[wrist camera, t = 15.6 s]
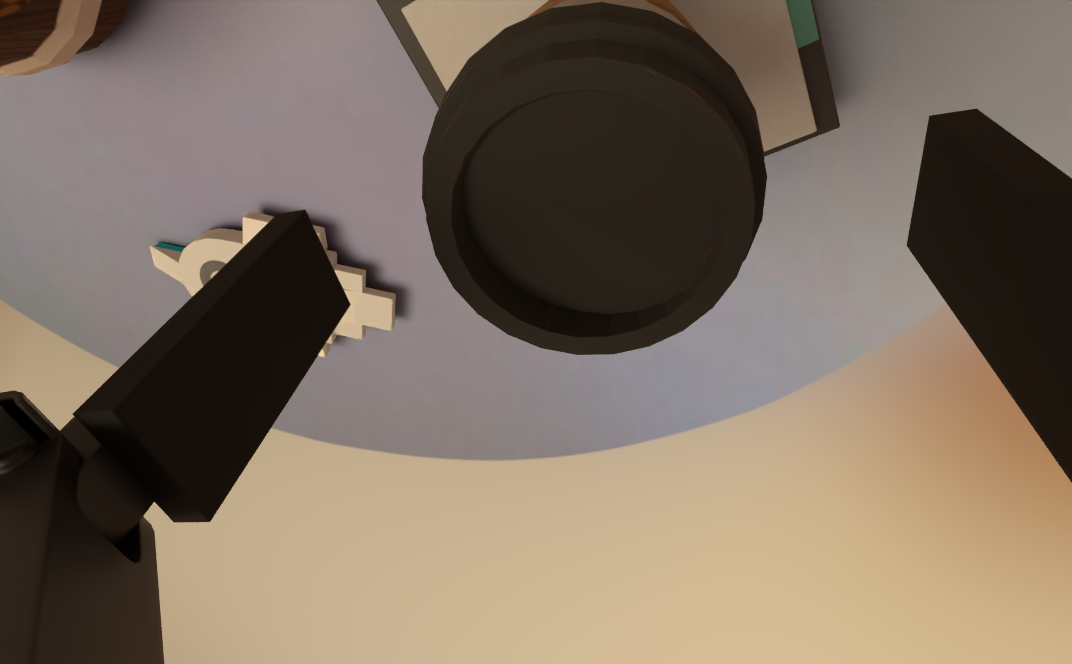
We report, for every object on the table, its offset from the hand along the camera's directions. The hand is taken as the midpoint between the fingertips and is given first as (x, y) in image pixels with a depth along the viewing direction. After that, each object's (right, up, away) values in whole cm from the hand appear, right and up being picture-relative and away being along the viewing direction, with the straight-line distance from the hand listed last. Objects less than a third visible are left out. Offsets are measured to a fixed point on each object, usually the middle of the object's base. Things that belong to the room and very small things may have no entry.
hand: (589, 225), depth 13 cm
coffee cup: (+2, +9, +12) cm, 15 cm away
